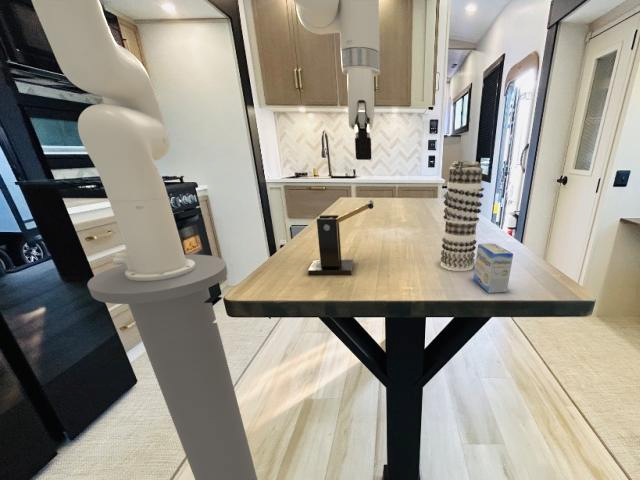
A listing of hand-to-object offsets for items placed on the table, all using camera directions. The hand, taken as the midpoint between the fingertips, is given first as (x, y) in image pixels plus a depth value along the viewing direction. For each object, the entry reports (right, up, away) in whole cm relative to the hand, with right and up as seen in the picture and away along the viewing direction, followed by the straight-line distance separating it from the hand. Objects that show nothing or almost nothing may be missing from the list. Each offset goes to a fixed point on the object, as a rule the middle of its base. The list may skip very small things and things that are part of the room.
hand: (364, 159), depth 70 cm
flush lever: (-4, -12, +4) cm, 14 cm away
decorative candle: (+23, -22, +13) cm, 34 cm away
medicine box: (+28, -28, +1) cm, 40 cm away
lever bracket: (-9, -23, +9) cm, 27 cm away
